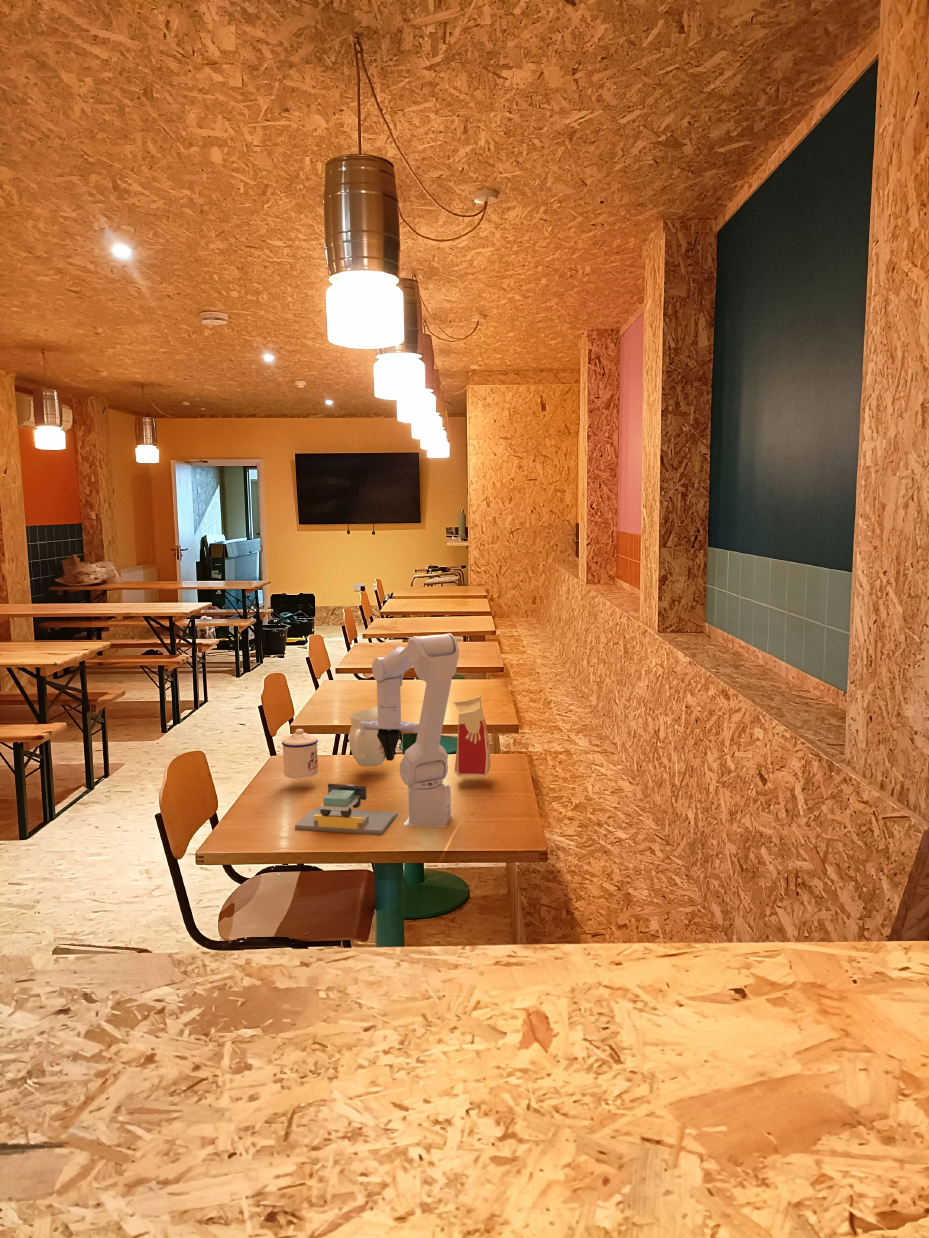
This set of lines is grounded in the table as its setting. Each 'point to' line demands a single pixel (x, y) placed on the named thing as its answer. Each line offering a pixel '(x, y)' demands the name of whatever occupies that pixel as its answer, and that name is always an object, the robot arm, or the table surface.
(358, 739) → the pitcher
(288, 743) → the teacup with lid
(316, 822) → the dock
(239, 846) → the table surface
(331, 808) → the toy cart
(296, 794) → the table surface
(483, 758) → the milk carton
